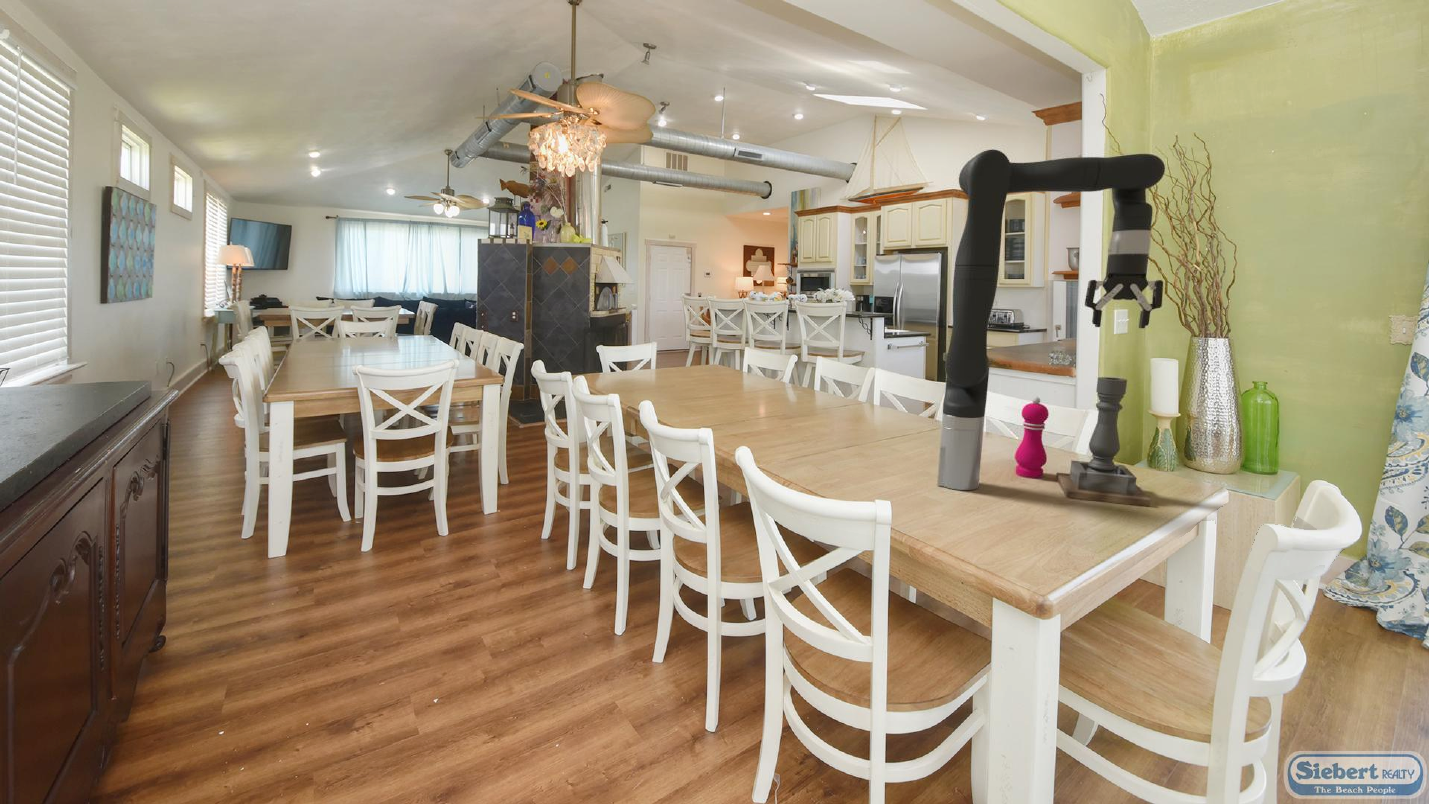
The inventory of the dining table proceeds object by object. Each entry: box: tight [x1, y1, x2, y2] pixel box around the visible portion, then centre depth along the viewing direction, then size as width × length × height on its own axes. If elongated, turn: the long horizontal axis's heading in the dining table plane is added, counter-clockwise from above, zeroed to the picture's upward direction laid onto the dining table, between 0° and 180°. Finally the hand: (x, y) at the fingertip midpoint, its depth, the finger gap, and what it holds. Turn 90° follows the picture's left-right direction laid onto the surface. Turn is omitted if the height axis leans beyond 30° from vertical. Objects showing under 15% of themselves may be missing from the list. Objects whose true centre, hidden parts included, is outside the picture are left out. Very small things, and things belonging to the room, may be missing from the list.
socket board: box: [1055, 460, 1152, 507], centre depth 147 cm, size 16×16×6 cm
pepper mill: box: [1014, 396, 1050, 479], centre depth 159 cm, size 7×7×20 cm
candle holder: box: [1086, 376, 1128, 474], centre depth 145 cm, size 6×6×25 cm
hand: (1119, 327), depth 141 cm, fingers open, 8 cm apart
